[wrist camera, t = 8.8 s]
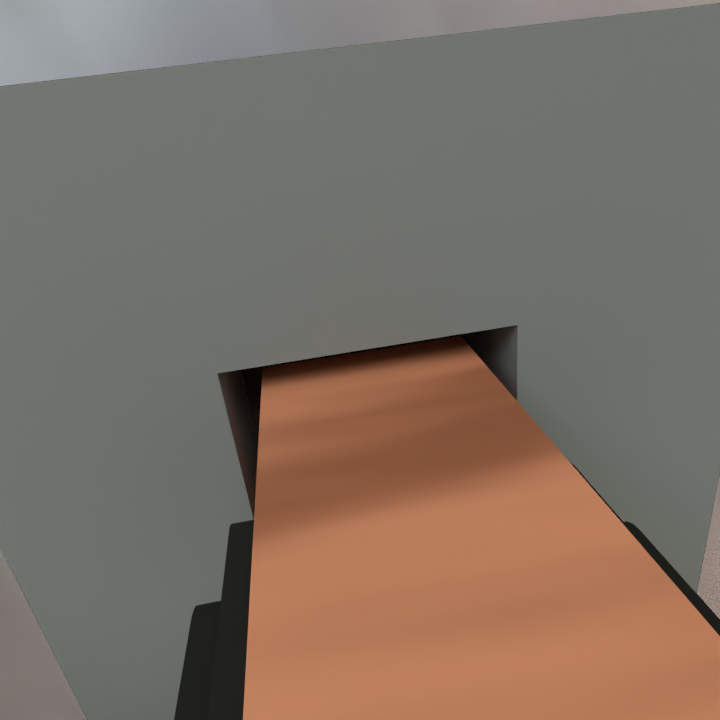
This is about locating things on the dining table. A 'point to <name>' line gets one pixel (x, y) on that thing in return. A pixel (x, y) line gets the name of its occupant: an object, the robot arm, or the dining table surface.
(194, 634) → the robot arm
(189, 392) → the socket block
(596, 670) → the peg
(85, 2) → the dining table surface
